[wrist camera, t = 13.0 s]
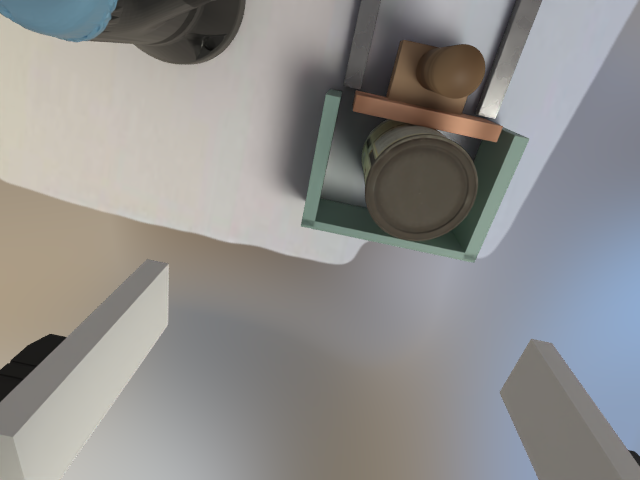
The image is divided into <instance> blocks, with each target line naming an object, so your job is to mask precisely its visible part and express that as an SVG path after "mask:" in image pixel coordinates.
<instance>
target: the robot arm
mask: <svg viewBox="0 0 640 480" xmlns="http://www.w3.org/2000/svg"><path fill="white" fill-rule="evenodd" d="M244 9H245V0H0V13H1V14H2V15H3V16H5V17H6V18H9V19H10V20H12V21H13V22H15V23H17V24H19V25H21V26H22V27H24V28H26V29H28V30H31V31H33V32H36V33H40V34H44V35H48V36H52V37H56V38H59V39H64V40H66V41H73V42H80V41H98V42H114V43H129V44H134V45H135V46H137V47H138V48H139V49H140V50H142V51H143V52H145V53H146V54H148V55H150V56H152V57H154V58H156V59H158V60H161V61H164V62H168V63H172V64H198V63H202V62H206V61H208V60H210V59H213V58H214V57H216V56H218V55H219V54H220V53H222V52H223V51H224V50H225V49H226V48H227V47H228V46H229V44H230V43H231V42H232V40H233V39H234V37H235V36H236V34H237V32H238V30H239V27H240V25H241V22H242V19H243V15H244ZM168 288H169V264H168V263H163V262H158V261H154V260H148V259H147V260H146V261H145V262H144V263H143V264H142V265H141V266H140V267H139V268H138V269H137V270H136V271H135V272H134V273H133V274H132V275H131V276H129V277H128V278H127V279H126V281H124V282H123V284H121V285H120V286H119V287H118V288H117V289H116V290H115V291H114V292H113V293H112V294H111V295H110V296H109V297H108V298H107V299H106V300H105V301H104V302H103V303H102V304H101V305H100V306H99V307H98V308H97V309H96V310H95V311H94V312H93V313H92V314H90V315H89V316H88V317H87V318H86V319H85V320H84V321H83V322H82V323H81V324H80V325H79V326H78V327H77V328H76V329H75V330H74V331H73V332H72V333H71V334H70V335H69V336H68V337H63V336H58V335H53V334H49V335H47V336H45V337H43V338H41V339H39V340H37V341H35V342H34V343H31V344H30V345H28V346H27V347H26V348H24V349H23V350H22V351H21V352H20V353H19V354H18V355H16V356H15V357H14V358H13V359H12V360H11V362H10V363H9V364H7V365H5V366H4V367H3V368H2V369H1V370H0V480H60V479H61V478H62V477H63V475H64V474H65V472H66V471H67V469H68V468H69V467H70V465H71V464H72V462H73V461H74V459H75V458H76V456H77V455H78V454H79V452H80V451H81V449H82V447H83V446H84V445H85V443H86V442H87V441H88V439H89V438H90V436H91V435H92V433H93V432H94V430H95V429H96V428H97V426H98V425H99V423H100V422H101V420H102V419H103V418H104V416H105V415H106V413H107V412H108V410H109V409H110V407H111V406H112V405H113V403H114V402H115V400H116V399H117V397H118V396H119V394H120V393H121V392H122V390H123V389H124V387H125V386H126V384H127V383H128V382H129V380H130V379H131V377H132V376H133V374H134V373H135V371H136V370H137V369H138V367H139V366H140V364H141V363H142V361H143V360H144V358H145V357H146V356H147V354H148V352H149V351H150V350H151V348H152V347H153V345H154V344H155V343H156V341H157V340H158V338H159V337H160V335H161V334H162V332H163V331H164V330H165V328H166V327H167V325H168ZM500 394H501V397H502V399H503V401H504V403H505V406H506V408H507V410H508V412H509V414H510V417H511V419H512V421H513V423H514V426H515V428H516V430H517V432H518V435H519V437H520V439H521V441H522V443H523V446H524V448H525V450H526V452H527V455H528V457H529V459H530V461H531V464H532V466H533V468H534V470H535V472H536V475H537V477H538V479H539V480H640V456H639V455H638V454H637V453H636V452H634V451H629V450H628V449H627V448H626V447H625V445H624V444H623V442H622V441H621V440H620V438H619V437H618V435H617V434H616V433H615V431H614V430H613V428H612V427H611V426H610V424H609V423H608V421H607V420H606V419H605V418H604V416H603V415H602V413H601V412H600V410H599V409H598V407H597V406H596V405H595V403H594V402H593V400H592V399H591V397H590V396H589V395H588V394H587V392H586V390H585V389H584V388H583V386H582V385H581V383H580V382H579V381H578V379H577V378H576V376H575V375H574V374H573V372H572V371H571V369H570V368H569V367H568V365H567V364H566V363H565V361H564V360H563V358H562V357H561V355H560V354H559V353H558V351H557V350H556V348H555V347H554V346H553V344H552V343H548V342H543V341H538V340H534V339H531V340H530V342H529V343H528V345H527V347H526V349H525V350H524V352H523V354H522V355H521V357H520V359H519V360H518V362H517V364H516V366H515V367H514V369H513V371H512V372H511V374H510V376H509V377H508V379H507V381H506V382H505V384H504V386H503V388H502V390H501V391H500Z"/></svg>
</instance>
